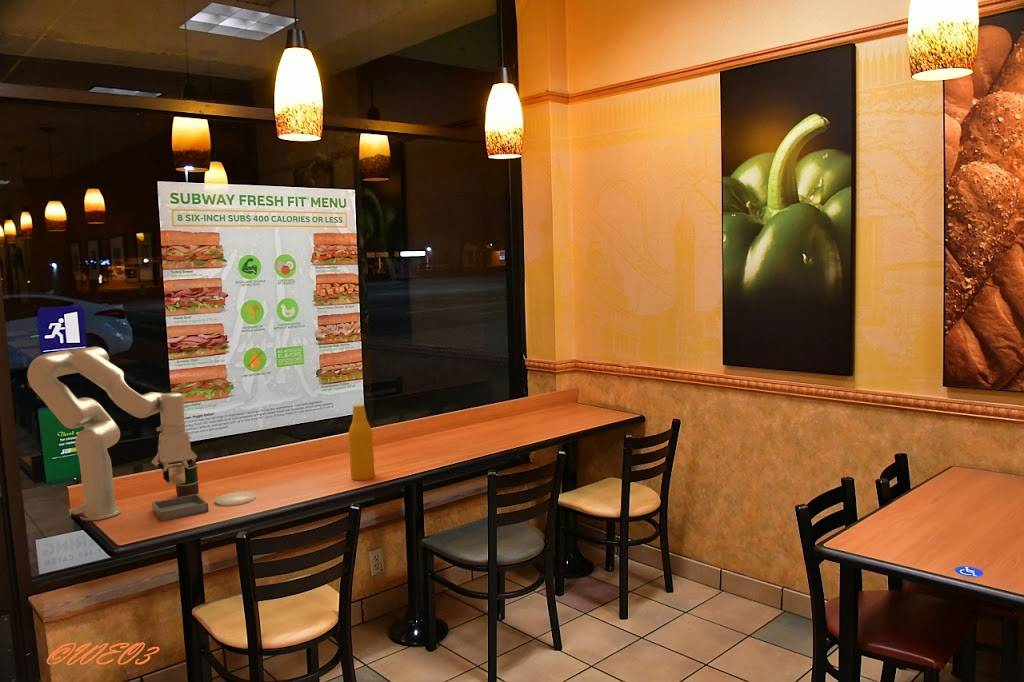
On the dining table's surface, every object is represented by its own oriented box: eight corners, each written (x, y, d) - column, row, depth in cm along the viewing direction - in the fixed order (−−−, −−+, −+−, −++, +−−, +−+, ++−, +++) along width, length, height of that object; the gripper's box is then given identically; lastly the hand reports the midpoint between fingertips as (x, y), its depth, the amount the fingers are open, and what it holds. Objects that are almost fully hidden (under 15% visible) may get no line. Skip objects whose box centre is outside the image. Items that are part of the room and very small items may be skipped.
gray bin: (161, 521, 260) (161, 512, 260) (152, 510, 272) (151, 502, 272) (208, 511, 269) (207, 503, 268) (197, 501, 281) (197, 493, 281)
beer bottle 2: (369, 481, 300) (365, 407, 297) (347, 480, 301) (342, 407, 299) (378, 474, 309) (374, 403, 306) (356, 474, 310) (352, 403, 308)
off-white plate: (221, 508, 272) (220, 505, 272) (210, 499, 283) (210, 496, 283) (260, 500, 280) (260, 497, 280) (249, 491, 291) (249, 489, 291)
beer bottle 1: (175, 498, 286) (170, 435, 284) (178, 493, 293) (173, 431, 291) (197, 496, 288) (192, 433, 286) (200, 490, 296) (195, 429, 293)
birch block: (169, 485, 266) (169, 468, 265) (166, 482, 270) (165, 465, 270) (185, 482, 269) (184, 465, 268) (181, 479, 273) (181, 463, 272)
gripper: (148, 433, 260) (151, 486, 261) (201, 427, 270) (204, 478, 271) (144, 430, 266) (147, 481, 268) (196, 423, 276) (198, 473, 277)
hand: (175, 479), depth 269 cm, fingers closed on birch block, 5 cm apart
